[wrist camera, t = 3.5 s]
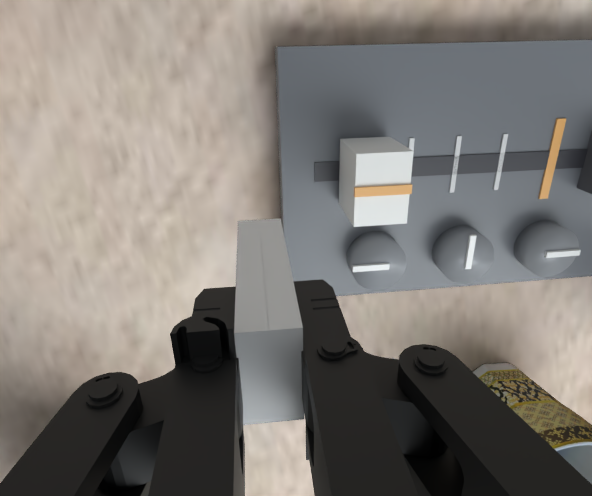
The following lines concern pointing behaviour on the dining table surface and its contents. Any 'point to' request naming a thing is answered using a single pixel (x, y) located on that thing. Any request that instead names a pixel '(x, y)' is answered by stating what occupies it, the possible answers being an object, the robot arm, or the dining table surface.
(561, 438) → the ceramic cup
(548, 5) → the dining table surface
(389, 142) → the fader cap
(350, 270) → the console
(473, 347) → the dining table surface
